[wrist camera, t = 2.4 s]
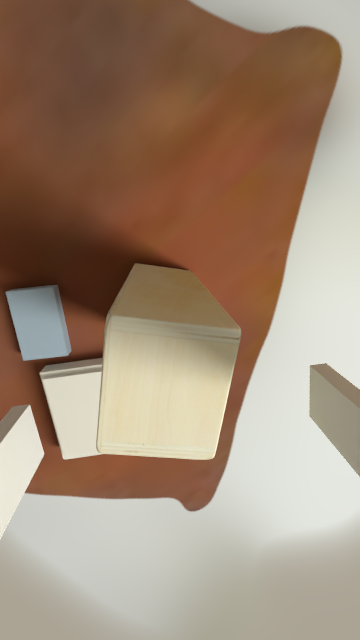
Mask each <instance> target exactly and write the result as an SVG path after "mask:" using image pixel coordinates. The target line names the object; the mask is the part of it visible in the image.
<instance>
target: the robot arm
mask: <svg viewBox="0 0 360 640" xmlns="http://www.w3.org/2000/svg"><path fill="white" fill-rule="evenodd" d="M310 417H311V418H312V419H313V421H314V422H315V423H316V424H317V425H318V427H319V428H320V429H321V430H322V431H323V433H324V434H325V435H326V436H327V438H328V439H329V440H330V441H331V442H332V444H333V445H334V446H335V447H336V448H337V450H338V451H339V452H340V453H341V454H342V456H343V457H344V458H345V459H346V460H347V462H348V463H349V464H350V465H351V467H352V468H353V469H354V470H355V471H356V473H357V474H358V475H359V476H360V390H359V389H358V388H357V387H355V386H354V385H353V384H352V383H350V382H349V381H348V380H346V379H345V378H344V377H343V376H341V375H340V374H339V373H337V372H336V371H335V370H334V369H332V368H331V367H330V366H328V365H327V364H326V363H325V364H318V365H311V366H310ZM43 456H44V451H43V448H42V445H41V441H40V438H39V434H38V431H37V427H36V424H35V421H34V417H33V414H32V410H31V407H30V404H28V405H21V406H14V407H12V408H11V409H10V411H9V412H8V413H7V414H6V415H5V417H4V418H3V419H2V420H1V421H0V539H1V537H2V535H3V533H4V531H5V529H6V527H7V525H8V523H9V522H10V520H11V518H12V515H13V514H14V512H15V510H16V508H17V506H18V504H19V502H20V500H21V498H22V496H23V494H24V493H25V491H26V489H27V487H28V485H29V483H30V481H31V479H32V477H33V475H34V473H35V471H36V469H37V467H38V465H39V463H40V462H41V460H42V458H43Z"/></svg>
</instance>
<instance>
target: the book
mask: <svg viewBox="0 0 360 640" xmlns="http://www.w3.org/2000/svg"><path fill="white" fill-rule="evenodd" d="M6 296H7V300H8V304H9V307H10V311H11V315H12V319H13V323H14V326H15V330H16V334H17V338H18V342H19V346H20V349H21V353H22V357H23V361H25V360H34V359H43V358H52V357H61V356H68V355H69V353H70V352H71V346H70V341H69V336H68V332H67V327H66V322H65V317H64V313H63V308H62V303H61V298H60V294H59V289H58V285H49V286H39V287H29V288H19V289H11V290H9V291H6Z"/></svg>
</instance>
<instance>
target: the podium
mask: <svg viewBox="0 0 360 640" xmlns="http://www.w3.org/2000/svg"><path fill="white" fill-rule="evenodd" d="M102 360H103V358H97V359H90V360H82V361H75V362H68V363H60V364H53V365H46V366H45V367H44V368H43V369H42V370H41V372H40V377H41V380H42V384H43V388H44V391H45V395H46V398H47V402H48V406H49V409H50V413H51V416H52V420H53V424H54V427H55V431H56V434H57V438H58V442H59V445H60V449H61V453H62V456H63V459H64V460H65V459H72V458H79V457H85V456H92V455H99V454H104V453H99V452H98V451H97V449H96V439H97V426H98V413H99V400H100V387H101V373H102Z"/></svg>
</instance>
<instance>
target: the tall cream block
mask: <svg viewBox="0 0 360 640" xmlns="http://www.w3.org/2000/svg"><path fill="white" fill-rule="evenodd" d="M240 337H241V329H240V327H239V326H238V325H237V324H236V322H235V321H234V320H233V319H232V318H231V317H230V316H229V315H228V313H227V312H226V311H225V310H224V309H223V307H222V306H221V305H220V304H219V303H218V302H217V300H216V299H215V298H214V297H213V296H212V295H211V294H210V292H209V291H208V290H207V289H206V288H205V287H204V286H203V284H202V283H201V282H200V281H199V280H198V278H197V277H196V276H195V275H194V274H193V272H192V271H189V270H182V269H175V268H168V267H160V266H153V265H146V264H138V263H135V264H134V266H133V268H132V270H131V271H130V273H129V275H128V277H127V279H126V281H125V282H124V284H123V286H122V288H121V290H120V291H119V293H118V295H117V297H116V299H115V301H114V303H113V304H112V306H111V308H110V310H109V312H108V314H107V317H106V325H105V333H104V347H103V360H102V373H101V387H100V400H99V413H98V426H97V439H96V449H97V451H98V452H99V453H104V454H117V455H134V456H149V457H166V458H181V459H201V460H205V459H212V458H213V457H214V455H215V452H216V449H217V444H218V439H219V435H220V430H221V425H222V421H223V416H224V412H225V407H226V403H227V398H228V393H229V389H230V384H231V379H232V375H233V370H234V366H235V361H236V357H237V352H238V347H239V342H240Z"/></svg>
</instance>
